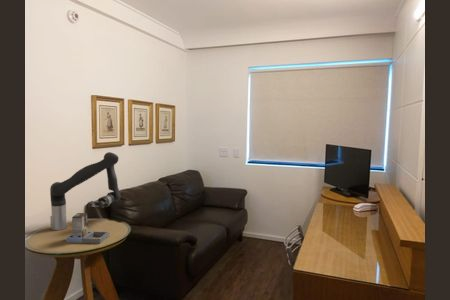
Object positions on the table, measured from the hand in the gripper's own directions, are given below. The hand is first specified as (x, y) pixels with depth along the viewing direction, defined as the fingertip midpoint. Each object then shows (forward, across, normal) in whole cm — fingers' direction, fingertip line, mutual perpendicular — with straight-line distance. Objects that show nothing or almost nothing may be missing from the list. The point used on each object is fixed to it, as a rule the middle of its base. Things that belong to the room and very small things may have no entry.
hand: (93, 206), depth 211 cm
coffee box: (+14, -2, +18) cm, 23 cm away
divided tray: (+14, +4, +18) cm, 23 cm away
